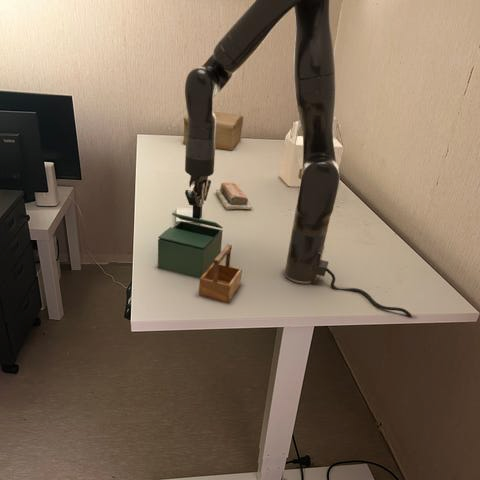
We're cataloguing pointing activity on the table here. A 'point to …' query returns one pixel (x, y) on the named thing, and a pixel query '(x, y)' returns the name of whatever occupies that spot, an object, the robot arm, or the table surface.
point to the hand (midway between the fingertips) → (197, 218)
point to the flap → (197, 220)
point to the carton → (189, 248)
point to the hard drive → (185, 214)
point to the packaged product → (232, 197)
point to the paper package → (223, 130)
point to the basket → (220, 278)
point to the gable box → (295, 149)
